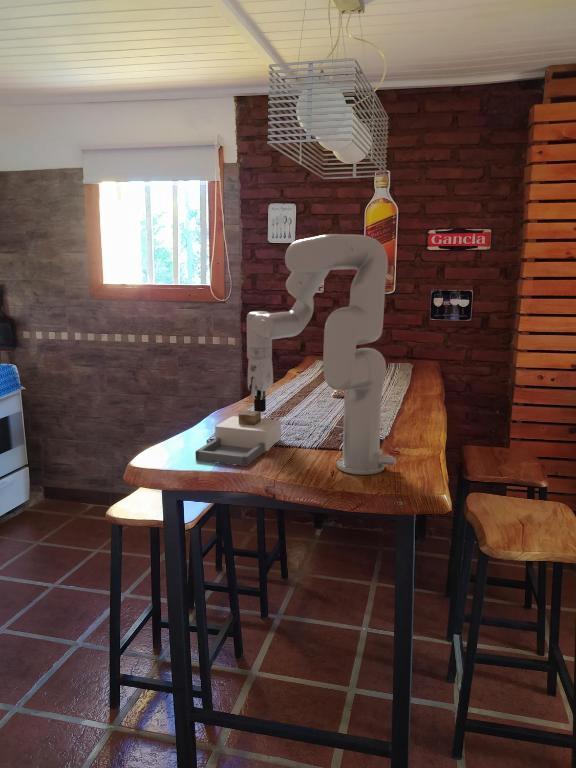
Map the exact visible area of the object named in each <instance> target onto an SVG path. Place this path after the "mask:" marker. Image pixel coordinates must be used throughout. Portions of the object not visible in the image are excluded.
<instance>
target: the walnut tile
mask: <svg viewBox="0 0 576 768" xmlns="http://www.w3.org/2000/svg"><path fill="white" fill-rule="evenodd" d="M261 413H262V412H259V411H254V410H243V411H242V412H240V413H238V417H239V424H243V425H253V426H255V425H256V424H258V423H259V422H261V419H262V414H261Z"/></svg>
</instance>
